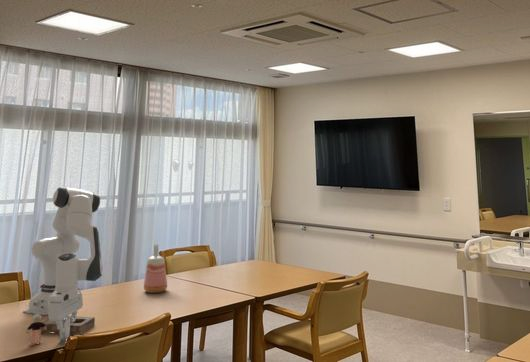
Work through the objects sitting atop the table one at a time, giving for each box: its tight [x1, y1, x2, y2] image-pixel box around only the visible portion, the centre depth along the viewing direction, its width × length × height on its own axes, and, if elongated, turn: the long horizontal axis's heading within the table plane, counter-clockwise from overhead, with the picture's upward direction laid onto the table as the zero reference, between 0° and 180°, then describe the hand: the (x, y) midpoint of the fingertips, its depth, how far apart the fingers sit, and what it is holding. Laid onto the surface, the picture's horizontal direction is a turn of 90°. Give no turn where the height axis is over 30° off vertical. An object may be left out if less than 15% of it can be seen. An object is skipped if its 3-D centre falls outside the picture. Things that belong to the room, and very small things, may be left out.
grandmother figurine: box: [25, 314, 47, 346], centre depth 177 cm, size 8×4×13 cm, turn 138°
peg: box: [58, 317, 71, 344], centre depth 179 cm, size 4×4×10 cm
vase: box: [143, 243, 168, 294], centre depth 264 cm, size 14×14×30 cm
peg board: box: [40, 315, 96, 335], centre depth 195 cm, size 20×12×4 cm, turn 84°
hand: (66, 325), depth 179 cm, fingers open, 8 cm apart
